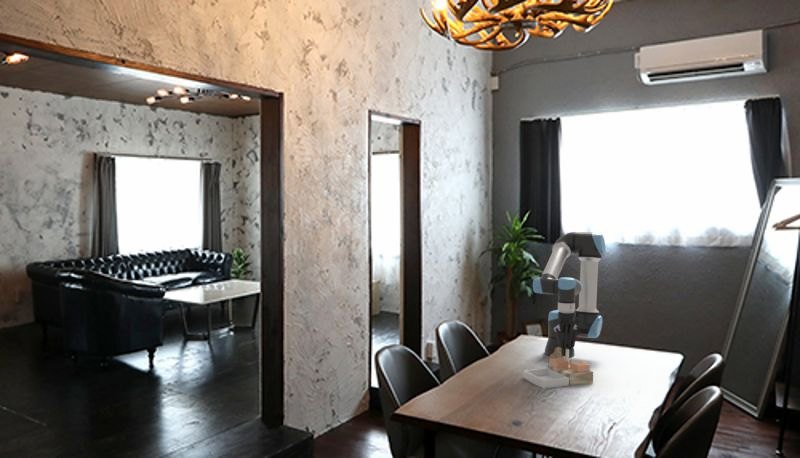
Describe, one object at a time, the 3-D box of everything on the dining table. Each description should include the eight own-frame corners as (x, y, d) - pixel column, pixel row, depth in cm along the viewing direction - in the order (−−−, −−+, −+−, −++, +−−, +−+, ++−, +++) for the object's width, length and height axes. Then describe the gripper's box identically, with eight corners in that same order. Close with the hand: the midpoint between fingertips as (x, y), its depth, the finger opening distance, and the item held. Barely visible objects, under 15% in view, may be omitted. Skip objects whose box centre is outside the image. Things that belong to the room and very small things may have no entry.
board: (548, 375, 265) (549, 364, 265) (571, 372, 269) (571, 362, 269) (569, 385, 250) (570, 374, 250) (592, 382, 254) (593, 371, 254)
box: (523, 378, 261) (523, 370, 261) (548, 375, 265) (548, 367, 265) (543, 388, 246) (543, 380, 246) (568, 385, 250) (569, 377, 250)
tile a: (549, 365, 264) (549, 358, 264) (560, 364, 266) (560, 357, 266) (557, 368, 258) (557, 362, 258) (568, 367, 260) (568, 360, 260)
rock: (576, 356, 276) (558, 342, 280) (567, 364, 266) (549, 350, 270) (564, 372, 280) (547, 359, 285) (555, 381, 270) (538, 367, 274)
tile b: (570, 368, 258) (570, 362, 258) (581, 367, 260) (581, 361, 260) (578, 372, 252) (578, 365, 252) (589, 371, 254) (589, 364, 254)
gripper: (559, 313, 256) (558, 366, 257) (583, 312, 261) (582, 363, 262) (549, 311, 264) (548, 362, 264) (573, 309, 268) (572, 359, 269)
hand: (565, 362), depth 263 cm, fingers closed
